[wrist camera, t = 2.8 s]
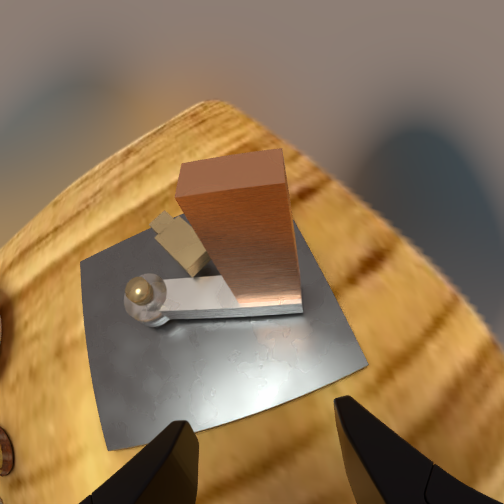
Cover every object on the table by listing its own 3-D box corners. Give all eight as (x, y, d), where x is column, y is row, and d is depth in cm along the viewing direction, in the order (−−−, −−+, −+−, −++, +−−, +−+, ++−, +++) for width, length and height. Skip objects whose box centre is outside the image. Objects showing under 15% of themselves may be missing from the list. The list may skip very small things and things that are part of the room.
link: (132, 327, 23) (16, 243, 12) (138, 284, 25) (40, 187, 14) (303, 320, 21) (286, 203, 10) (300, 272, 22) (280, 133, 12)
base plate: (366, 367, 20) (368, 364, 19) (115, 450, 19) (107, 450, 18) (271, 185, 29) (269, 178, 28) (85, 266, 29) (80, 261, 28)
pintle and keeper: (147, 328, 24) (114, 306, 20) (158, 247, 28) (133, 215, 24) (229, 326, 23) (208, 302, 19) (232, 239, 27) (216, 202, 23)
